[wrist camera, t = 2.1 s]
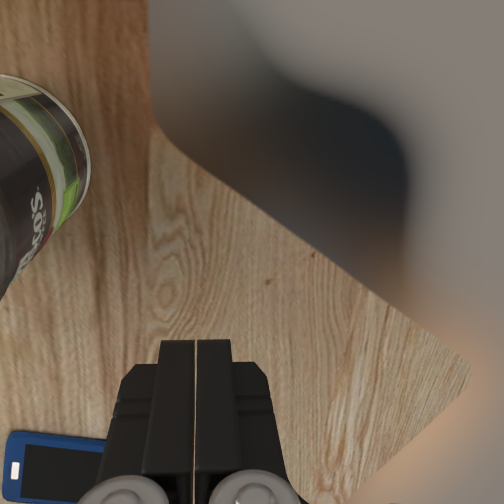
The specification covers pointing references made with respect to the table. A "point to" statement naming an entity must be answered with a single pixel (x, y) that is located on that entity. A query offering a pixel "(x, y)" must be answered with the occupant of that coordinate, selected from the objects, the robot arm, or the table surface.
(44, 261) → the table surface
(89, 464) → the cell phone
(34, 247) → the coffee can
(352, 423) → the table surface
